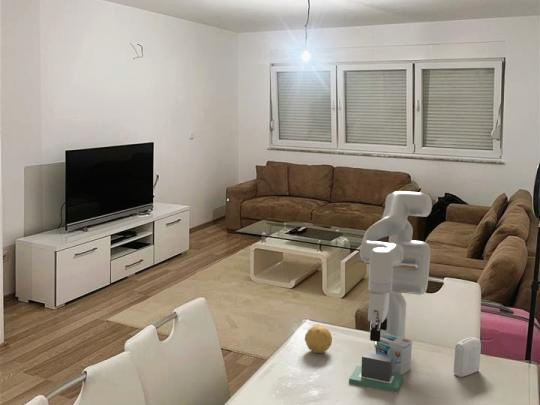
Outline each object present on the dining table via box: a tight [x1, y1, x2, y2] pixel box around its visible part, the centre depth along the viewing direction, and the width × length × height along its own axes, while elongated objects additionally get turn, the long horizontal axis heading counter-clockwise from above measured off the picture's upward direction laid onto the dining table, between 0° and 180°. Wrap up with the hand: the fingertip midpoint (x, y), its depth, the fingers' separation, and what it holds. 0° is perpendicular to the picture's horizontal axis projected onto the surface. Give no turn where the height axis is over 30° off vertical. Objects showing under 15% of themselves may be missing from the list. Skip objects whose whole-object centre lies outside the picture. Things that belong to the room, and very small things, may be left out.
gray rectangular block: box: [361, 351, 393, 382], centre depth 189 cm, size 4×9×7 cm, turn 66°
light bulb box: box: [375, 333, 413, 375], centre depth 199 cm, size 11×7×11 cm, turn 47°
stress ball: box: [304, 325, 333, 354], centre depth 211 cm, size 10×10×10 cm
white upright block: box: [453, 336, 482, 378], centre depth 195 cm, size 10×4×12 cm, turn 123°
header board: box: [348, 365, 404, 394], centre depth 190 cm, size 10×16×5 cm, turn 66°
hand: (378, 335), depth 188 cm, fingers open, 9 cm apart
